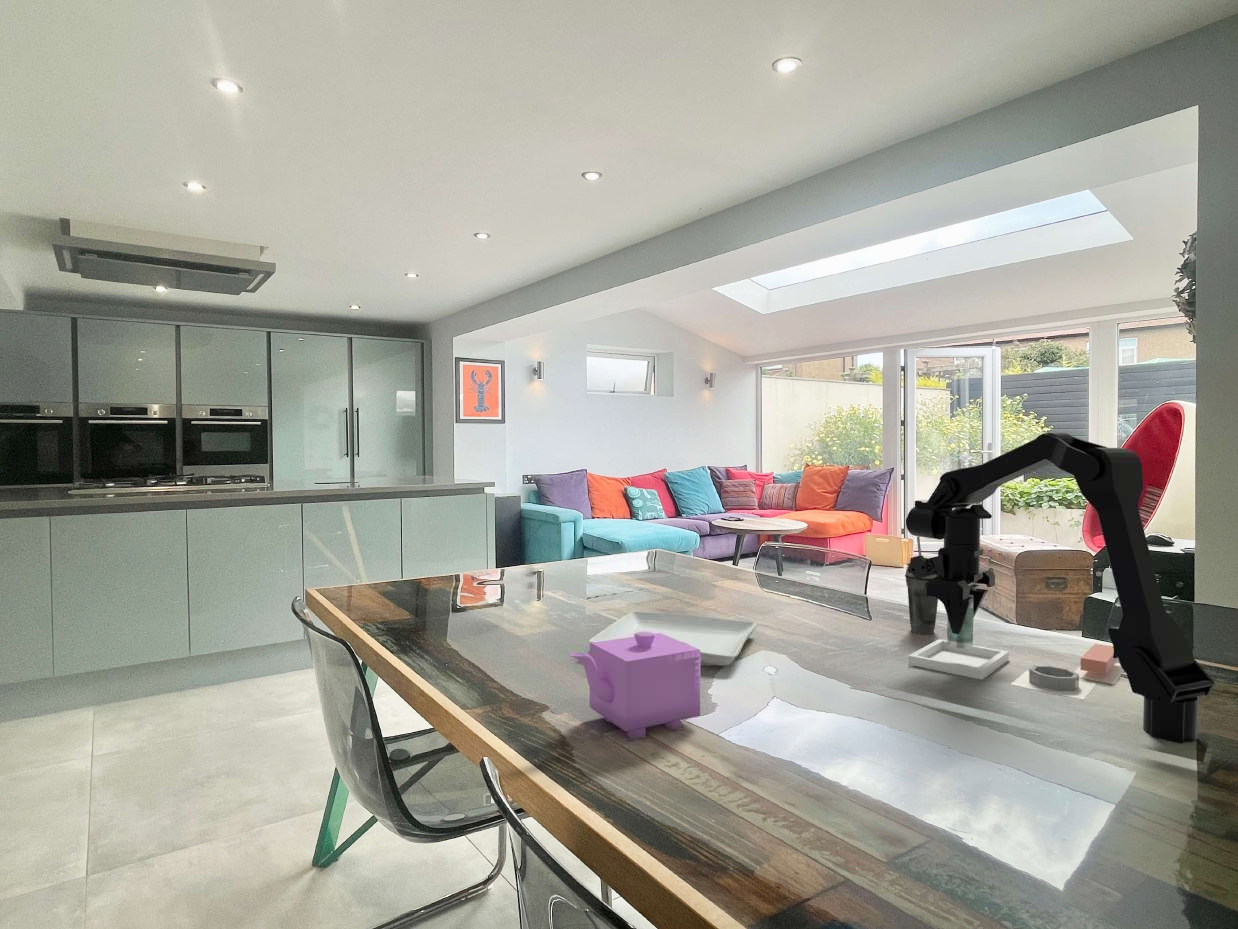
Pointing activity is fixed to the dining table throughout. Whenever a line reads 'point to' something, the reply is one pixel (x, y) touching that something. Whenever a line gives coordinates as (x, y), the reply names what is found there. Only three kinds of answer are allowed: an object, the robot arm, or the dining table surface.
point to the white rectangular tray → (959, 659)
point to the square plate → (686, 633)
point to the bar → (1098, 659)
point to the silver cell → (962, 632)
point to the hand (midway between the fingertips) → (960, 631)
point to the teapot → (643, 681)
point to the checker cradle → (1065, 680)
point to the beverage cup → (921, 603)
